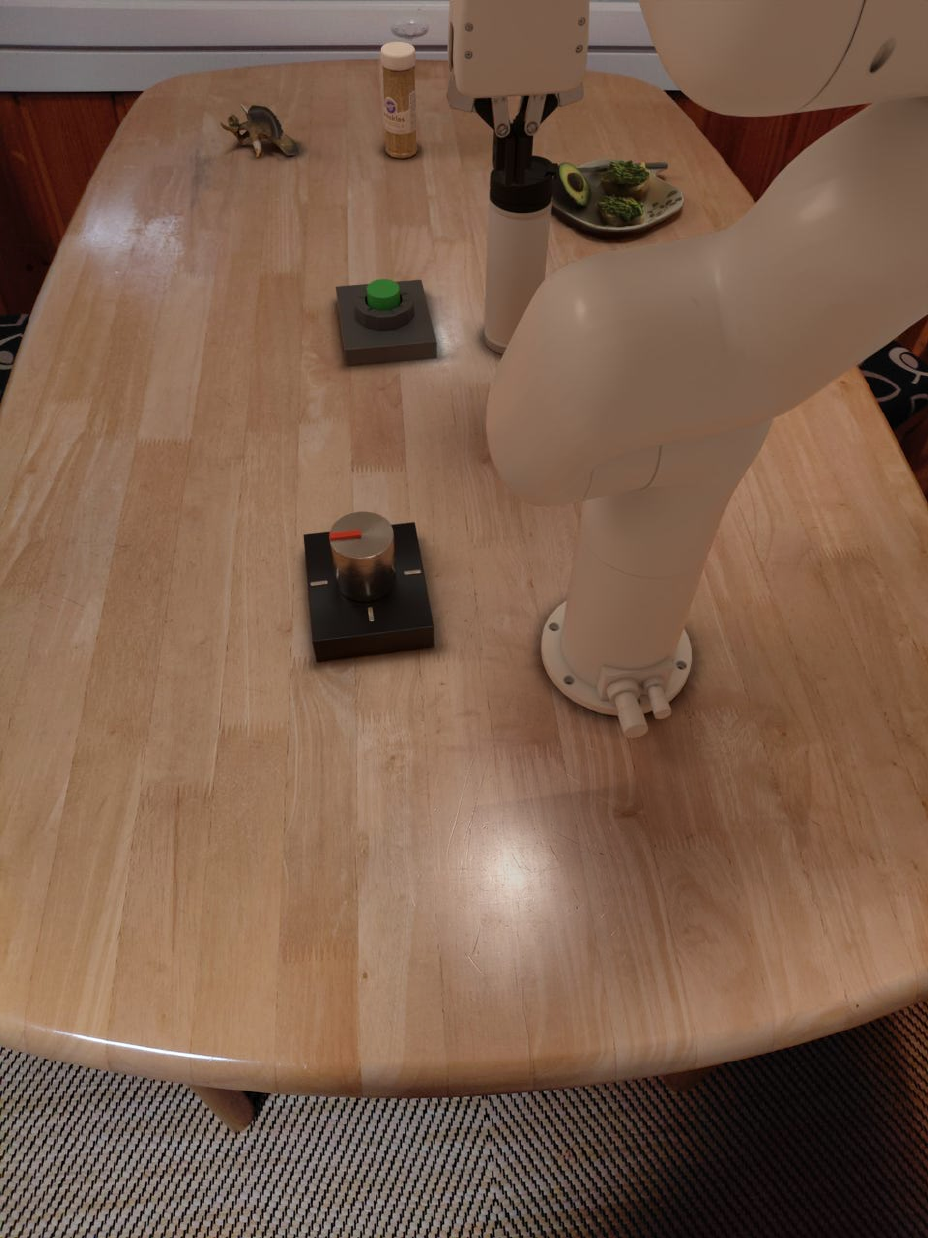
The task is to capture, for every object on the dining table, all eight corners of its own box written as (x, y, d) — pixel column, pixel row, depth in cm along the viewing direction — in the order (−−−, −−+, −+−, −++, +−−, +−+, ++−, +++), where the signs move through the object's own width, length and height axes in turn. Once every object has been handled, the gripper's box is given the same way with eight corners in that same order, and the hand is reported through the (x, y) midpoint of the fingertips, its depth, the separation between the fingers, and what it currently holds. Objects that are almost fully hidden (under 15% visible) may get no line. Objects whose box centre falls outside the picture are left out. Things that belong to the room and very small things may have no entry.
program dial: (392, 552, 81) (389, 505, 77) (400, 597, 78) (397, 552, 74) (333, 559, 81) (326, 512, 76) (338, 605, 78) (331, 559, 73)
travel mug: (537, 360, 103) (554, 183, 87) (479, 352, 104) (484, 175, 88) (545, 327, 107) (563, 152, 91) (489, 319, 107) (496, 144, 92)
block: (436, 358, 103) (436, 327, 100) (346, 366, 102) (343, 335, 99) (421, 295, 110) (421, 265, 107) (337, 302, 109) (334, 272, 106)
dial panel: (434, 647, 79) (434, 625, 77) (316, 662, 78) (312, 640, 75) (415, 543, 86) (414, 520, 84) (307, 556, 85) (303, 532, 83)
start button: (402, 310, 102) (401, 296, 101) (369, 312, 102) (368, 298, 101) (398, 291, 104) (397, 277, 103) (366, 293, 104) (365, 279, 103)
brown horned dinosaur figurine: (222, 155, 128) (283, 149, 125) (216, 97, 125) (277, 90, 123) (248, 163, 135) (305, 158, 132) (242, 108, 132) (300, 101, 130)
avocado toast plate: (624, 152, 132) (629, 118, 128) (715, 206, 123) (723, 172, 120) (517, 192, 125) (519, 157, 121) (605, 253, 116) (610, 217, 113)
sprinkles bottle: (380, 155, 131) (374, 51, 120) (393, 141, 133) (388, 37, 122) (410, 161, 130) (407, 56, 119) (422, 147, 132) (420, 43, 122)
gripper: (617, -111, 66) (586, 150, 81) (408, -103, 65) (416, 161, 79) (647, -75, 62) (609, 194, 76) (423, -66, 60) (428, 207, 75)
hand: (510, 177), depth 78 cm, fingers closed
